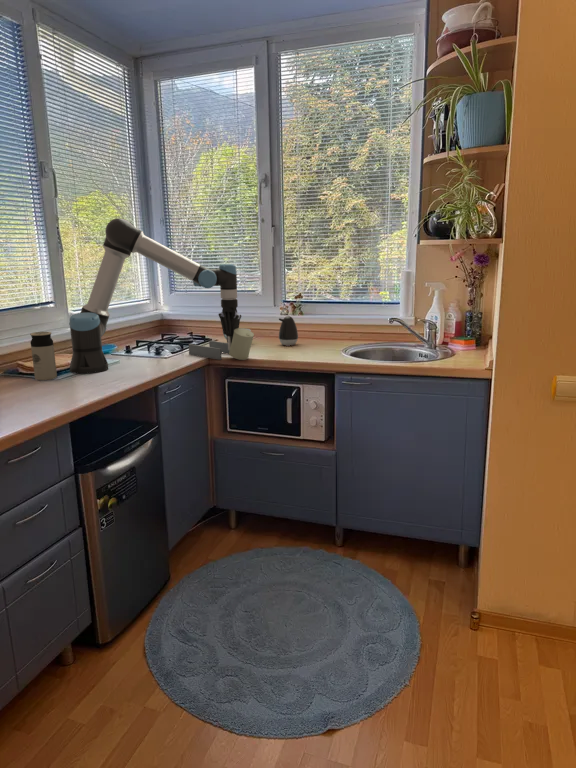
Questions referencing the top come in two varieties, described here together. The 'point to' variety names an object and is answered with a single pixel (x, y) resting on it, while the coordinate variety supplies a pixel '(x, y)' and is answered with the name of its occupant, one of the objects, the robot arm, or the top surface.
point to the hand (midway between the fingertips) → (231, 349)
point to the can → (241, 344)
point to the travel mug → (43, 356)
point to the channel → (209, 350)
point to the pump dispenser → (288, 331)
